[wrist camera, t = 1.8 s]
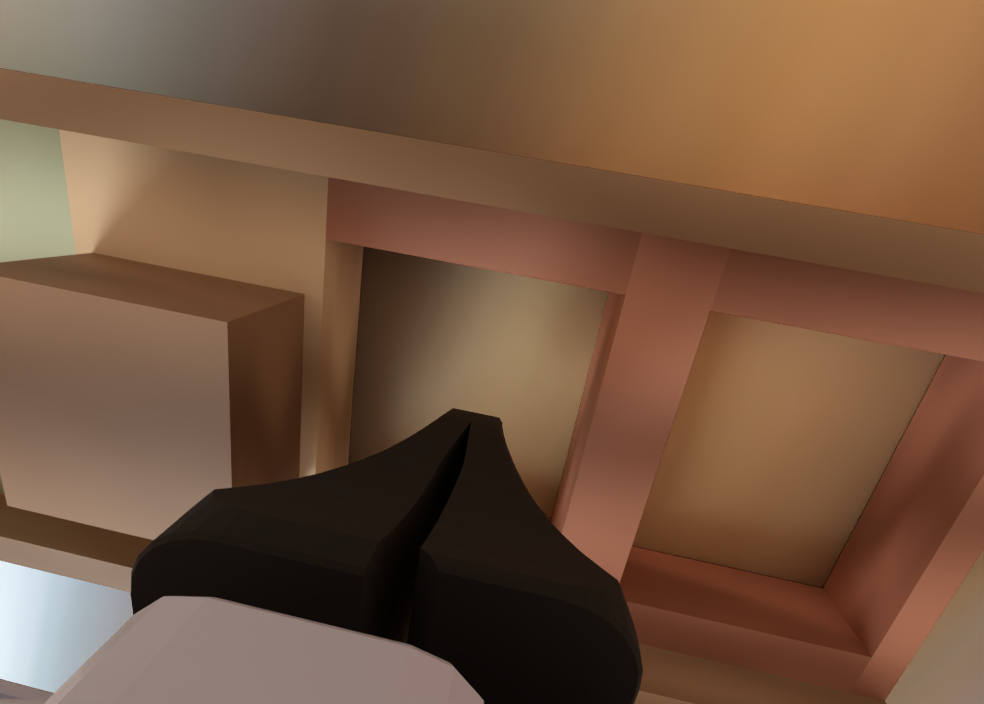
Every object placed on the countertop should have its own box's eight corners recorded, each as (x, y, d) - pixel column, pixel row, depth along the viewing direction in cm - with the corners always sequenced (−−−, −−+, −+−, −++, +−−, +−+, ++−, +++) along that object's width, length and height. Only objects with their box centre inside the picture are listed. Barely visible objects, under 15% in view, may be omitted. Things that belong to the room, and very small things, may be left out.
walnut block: (299, 486, 14) (233, 559, 11) (116, 445, 14) (7, 505, 11) (304, 294, 12) (227, 322, 9) (92, 252, 12) (-46, 267, 9)
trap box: (823, 647, 16) (906, 781, 12) (10, 461, 18) (-131, 528, 14) (1040, 258, 12) (1273, 284, 8) (-74, 67, 14) (-311, 15, 10)
